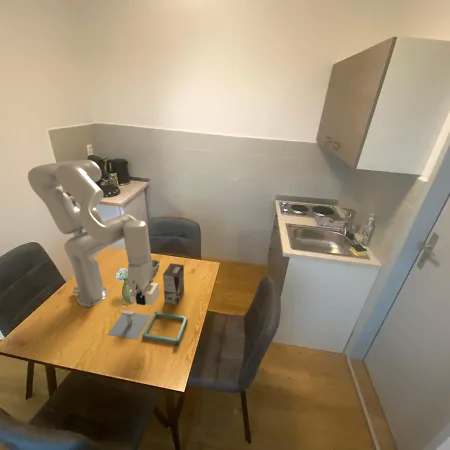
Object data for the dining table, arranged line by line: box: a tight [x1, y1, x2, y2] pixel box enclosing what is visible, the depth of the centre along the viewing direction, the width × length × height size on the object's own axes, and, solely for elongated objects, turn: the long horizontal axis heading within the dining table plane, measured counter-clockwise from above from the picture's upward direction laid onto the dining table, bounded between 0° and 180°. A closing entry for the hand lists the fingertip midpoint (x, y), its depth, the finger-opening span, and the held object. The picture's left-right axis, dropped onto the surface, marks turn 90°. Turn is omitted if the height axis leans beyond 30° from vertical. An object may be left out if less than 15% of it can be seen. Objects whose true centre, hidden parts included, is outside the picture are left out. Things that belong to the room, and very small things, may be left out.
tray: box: [141, 311, 188, 347], centre depth 99 cm, size 14×12×2 cm
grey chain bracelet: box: [152, 259, 160, 277], centre depth 133 cm, size 11×8×4 cm
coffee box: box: [162, 262, 185, 305], centre depth 112 cm, size 9×6×16 cm
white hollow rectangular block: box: [128, 282, 160, 306], centre depth 91 cm, size 8×6×5 cm
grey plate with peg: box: [107, 310, 152, 341], centre depth 98 cm, size 12×12×8 cm
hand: (145, 297), depth 92 cm, fingers closed on white hollow rectangular block, 6 cm apart
